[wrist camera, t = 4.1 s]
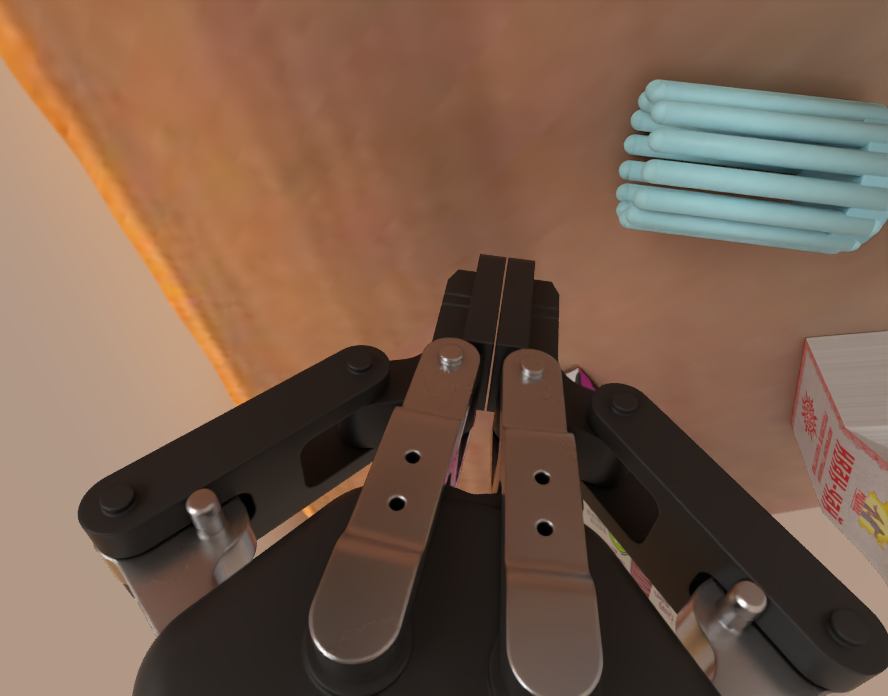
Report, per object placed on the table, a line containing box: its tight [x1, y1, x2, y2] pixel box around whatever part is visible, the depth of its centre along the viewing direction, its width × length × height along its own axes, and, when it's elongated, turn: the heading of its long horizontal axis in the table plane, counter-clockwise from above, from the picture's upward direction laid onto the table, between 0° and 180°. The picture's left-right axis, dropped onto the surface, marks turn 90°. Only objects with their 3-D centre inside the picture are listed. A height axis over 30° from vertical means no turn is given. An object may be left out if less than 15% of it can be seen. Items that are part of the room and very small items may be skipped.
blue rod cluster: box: [616, 80, 888, 254], centre depth 22 cm, size 8×5×5 cm, turn 87°
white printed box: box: [791, 331, 888, 586], centre depth 28 cm, size 4×7×10 cm, turn 16°
